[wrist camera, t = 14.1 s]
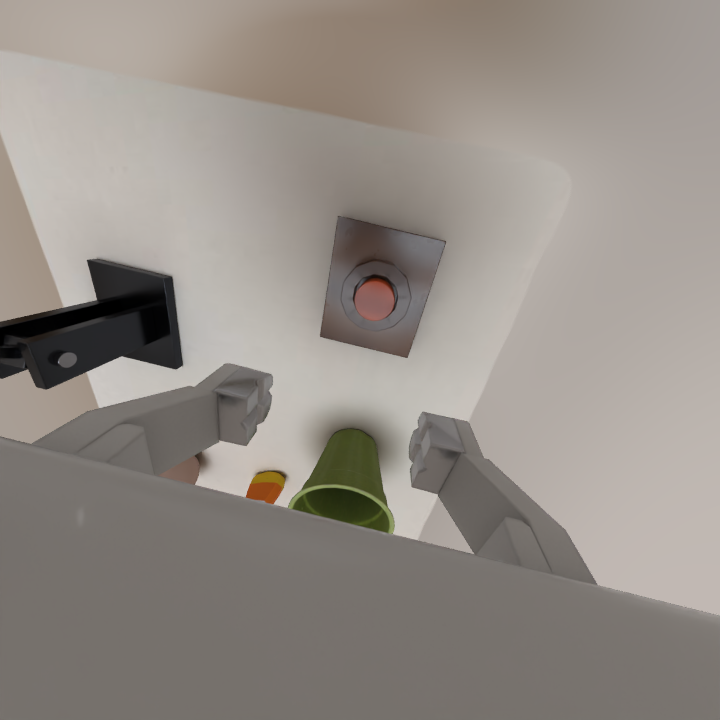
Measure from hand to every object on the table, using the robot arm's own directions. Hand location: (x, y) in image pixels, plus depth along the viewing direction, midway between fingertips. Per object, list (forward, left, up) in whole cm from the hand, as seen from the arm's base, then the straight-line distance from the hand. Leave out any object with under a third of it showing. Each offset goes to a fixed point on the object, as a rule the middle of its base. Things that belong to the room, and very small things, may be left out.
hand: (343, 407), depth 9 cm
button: (0, 0, -17) cm, 17 cm away
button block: (0, 0, -21) cm, 21 cm away
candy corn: (+34, -10, -21) cm, 41 cm away
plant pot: (+23, +2, -21) cm, 31 cm away
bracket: (+10, -28, -21) cm, 36 cm away
